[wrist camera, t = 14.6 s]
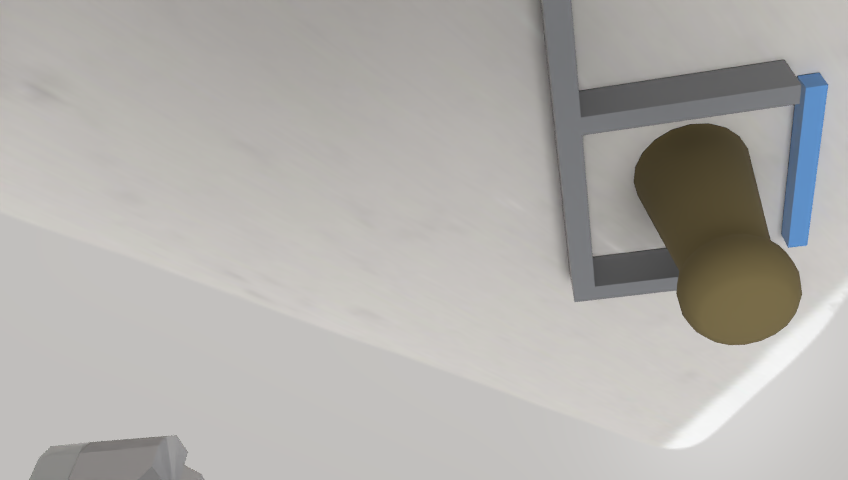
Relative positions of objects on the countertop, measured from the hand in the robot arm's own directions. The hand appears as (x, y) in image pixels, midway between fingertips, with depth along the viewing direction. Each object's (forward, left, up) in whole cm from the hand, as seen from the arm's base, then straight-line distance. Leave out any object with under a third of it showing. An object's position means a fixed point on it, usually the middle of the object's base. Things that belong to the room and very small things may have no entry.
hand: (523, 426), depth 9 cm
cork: (+9, -19, -31) cm, 37 cm away
